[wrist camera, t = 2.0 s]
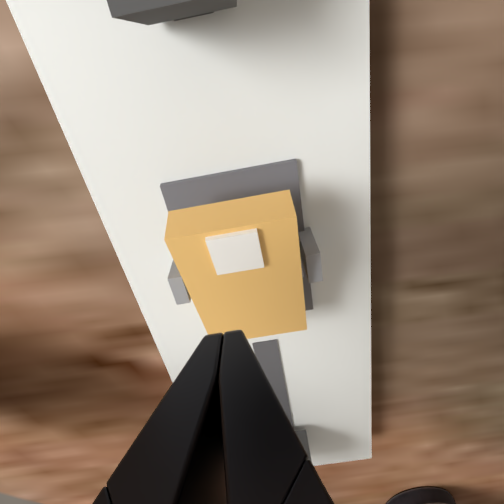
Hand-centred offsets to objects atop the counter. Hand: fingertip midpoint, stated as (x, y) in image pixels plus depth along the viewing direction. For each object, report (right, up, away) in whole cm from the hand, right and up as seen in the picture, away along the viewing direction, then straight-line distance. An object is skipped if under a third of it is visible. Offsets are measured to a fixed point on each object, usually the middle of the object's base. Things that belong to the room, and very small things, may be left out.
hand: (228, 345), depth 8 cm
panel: (0, +1, +12) cm, 12 cm away
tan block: (0, +1, +7) cm, 7 cm away
